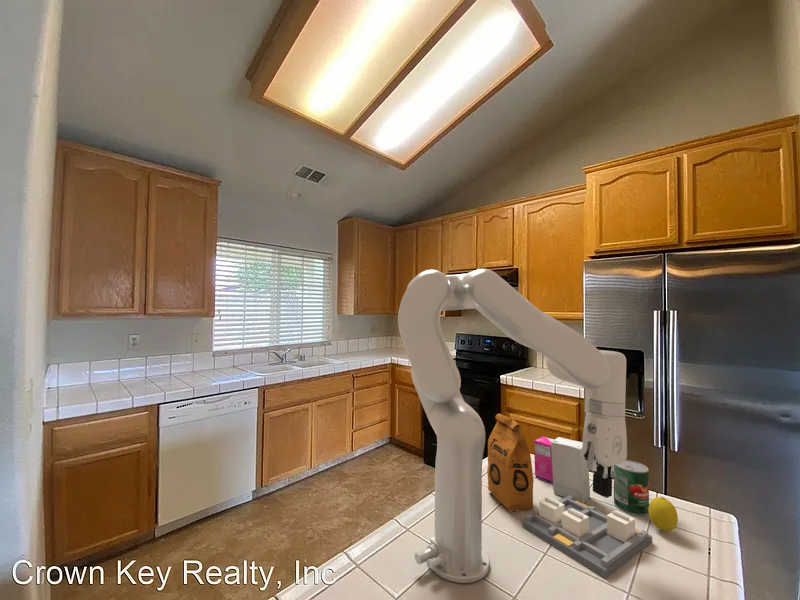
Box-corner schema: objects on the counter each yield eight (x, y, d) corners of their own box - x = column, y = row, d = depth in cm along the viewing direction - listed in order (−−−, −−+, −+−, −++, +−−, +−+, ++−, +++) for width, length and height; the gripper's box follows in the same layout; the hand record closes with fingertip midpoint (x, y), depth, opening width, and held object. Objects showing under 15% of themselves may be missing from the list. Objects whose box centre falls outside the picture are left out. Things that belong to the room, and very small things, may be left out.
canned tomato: (618, 496, 97) (617, 456, 97) (652, 507, 91) (651, 465, 92) (610, 507, 91) (609, 464, 92) (646, 520, 86) (645, 474, 86)
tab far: (554, 527, 80) (554, 506, 80) (539, 518, 83) (539, 498, 83) (564, 521, 82) (564, 501, 82) (549, 513, 85) (549, 494, 85)
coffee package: (503, 515, 87) (503, 426, 88) (483, 490, 99) (483, 413, 100) (539, 511, 89) (539, 425, 90) (515, 487, 101) (515, 411, 102)
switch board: (605, 578, 66) (605, 565, 66) (522, 526, 82) (522, 516, 82) (652, 543, 77) (652, 531, 77) (570, 503, 93) (570, 493, 93)
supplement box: (543, 471, 112) (542, 435, 112) (561, 478, 107) (561, 441, 108) (533, 476, 108) (533, 439, 109) (552, 484, 104) (551, 445, 104)
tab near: (626, 543, 74) (626, 521, 74) (606, 533, 77) (606, 512, 78) (635, 537, 76) (634, 516, 76) (615, 527, 80) (615, 507, 80)
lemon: (649, 521, 85) (648, 488, 85) (678, 531, 81) (677, 496, 82) (647, 532, 81) (647, 497, 81) (678, 542, 77) (677, 506, 77)
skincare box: (590, 497, 96) (589, 443, 97) (582, 505, 92) (582, 448, 93) (559, 486, 102) (559, 435, 103) (551, 493, 98) (550, 440, 99)
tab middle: (579, 541, 75) (578, 519, 75) (561, 531, 78) (561, 510, 78) (589, 535, 77) (588, 513, 77) (571, 525, 80) (571, 505, 80)
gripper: (604, 416, 68) (601, 511, 67) (640, 408, 76) (638, 494, 75) (568, 406, 74) (565, 493, 73) (604, 400, 82) (602, 479, 81)
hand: (602, 493), depth 74 cm, fingers closed
